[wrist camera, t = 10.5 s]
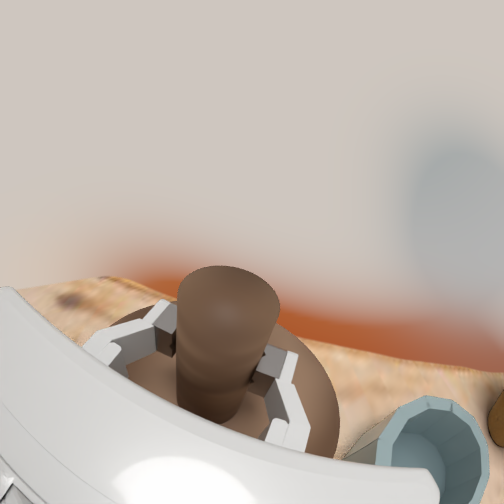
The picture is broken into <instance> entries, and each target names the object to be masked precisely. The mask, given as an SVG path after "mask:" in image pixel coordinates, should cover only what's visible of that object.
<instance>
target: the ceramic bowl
mask: <svg viewBox="0 0 504 504" xmlns="http://www.w3.org/2000/svg"><path fill="white" fill-rule="evenodd" d="M473 418H474V417H473V416H472V415H471V414H469V413H468V412H467V411H466V410H464V409H463V408H462V407H461V406H459V405H458V404H457V403H456V402H454V401H453V400H450V399H444V398H438V397H432V396H427V395H426V396H423V397H421V398H419V399H416V400H414V401H412V402H410V403H407V404H405V405H403V406H400V407H399V408H397V409H396V410H395V411H394V412H392V413H391V414H390V415H389V416H387V417H386V418H385V419H384V420H382V421H381V422H380V423H378V424H377V425H376V426H374V427H373V428H372V429H370V430H369V431H367V432H366V433H365V434H363V435H362V436H361V438H360V439H359V440H358V441H357V443H356V444H355V445H354V446H353V447H352V449H351V450H350V451H349V452H348V453H347V454H346V456H345V457H344V458H343V459H342V460H343V461H349V462H356V463H363V464H371V465H380V466H391V467H408V468H425V469H427V470H428V471H429V472H430V474H431V475H432V477H433V478H434V480H435V482H436V484H437V486H438V488H439V491H440V501H439V504H480V501H481V499H482V496H483V493H484V491H485V488H486V485H487V482H488V479H489V475H490V473H489V454H488V445H486V444H487V442H486V439H485V437H484V435H483V433H482V431H481V429H480V427H479V425H478V424H477V422H476V420H475V418H474V419H473Z"/></svg>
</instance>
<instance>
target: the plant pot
mask: <svg viewBox="0 0 504 504" xmlns="http://www.w3.org/2000/svg"><path fill="white" fill-rule="evenodd" d="M488 427H489V431H490V434H491V437H492V439H493V440H494V442H495V443H496V444H497V445H499V446H501V447H504V390H503V392H502V393H501V395H500V397H499V398H498V400H497V401H496V403H495V405H494V406H493V408H492V409H491V411H490V413H489V417H488Z"/></svg>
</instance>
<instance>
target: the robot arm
mask: <svg viewBox="0 0 504 504" xmlns="http://www.w3.org/2000/svg"><path fill="white" fill-rule="evenodd" d="M176 323H177V305H175V304H173V303H170V302H168V301H166V300H164V299H161V300H159V301H158V302H157V304H156V305H155V306H154V307H153V308H152V309H151V310H150V311H149V312H148V313H147V315H146V316H145V317H144V318H143V319H140V318H139V319H135V320H132V321H129V322H125V323H122V324H119V325H115V326H112V327H108V328H105V329H101V330H98V331H96V332H95V334H94V335H93V336H92V337H91V338H90V339H89V340H88V341H87V342H86V343H85V344H84V345H83V346H82V347H80V346H79V345H78V344H76V343H75V342H74V341H72V340H71V339H70V338H68V337H67V336H66V335H65V334H63V333H62V332H61V331H60V330H58V329H57V328H56V327H55V326H54V325H52V324H51V323H50V322H49V321H48V320H47V319H45V318H44V317H43V316H42V315H41V314H40V313H39V312H38V311H37V310H35V309H34V308H33V307H32V306H31V305H30V304H29V303H28V302H27V301H26V300H25V299H24V298H23V297H22V296H21V295H20V294H19V293H18V292H17V291H16V290H15V289H14V288H12V287H9V286H8V287H0V504H439V501H440V491H439V488H438V486H437V484H436V482H435V480H434V478H433V477H432V475H431V474H430V472H429V471H428V470H427V469H425V468H408V467H391V466H380V465H371V464H363V463H356V462H349V461H343V460H337V459H332V458H327V457H322V456H317V455H313V454H309V453H304V452H305V448H306V445H307V441H308V437H309V433H310V429H311V427H310V424H309V422H308V419H307V416H306V414H305V411H304V409H303V406H302V404H301V401H300V398H299V396H298V393H297V391H296V388H295V385H294V384H291V382H292V379H293V375H294V371H295V368H296V364H297V360H298V354H296V353H293V352H291V351H287V350H285V349H282V348H280V347H277V346H274V345H271V344H268V343H267V345H266V348H265V350H264V352H263V355H262V357H261V359H260V361H259V363H258V365H257V367H256V370H255V372H254V374H253V377H252V379H251V381H250V384H249V386H248V389H247V391H248V392H251V393H253V394H256V395H258V396H261V397H264V402H265V406H266V410H267V414H268V419H269V425H268V426H267V427H266V428H265V430H264V431H263V432H262V433H261V434H260V436H259V437H258V439H256V438H253V437H250V436H247V435H245V434H242V433H239V432H236V431H234V430H231V429H229V428H226V427H223V426H221V425H218V424H216V423H214V422H211V421H209V420H207V419H204V418H202V417H200V416H198V415H195V414H193V413H191V412H189V411H187V410H185V409H183V408H181V407H178V406H176V405H174V404H172V403H170V402H169V401H167V400H165V399H163V398H161V397H159V396H157V395H155V394H153V393H152V392H150V391H148V390H146V389H144V388H143V387H141V386H139V385H138V384H136V383H134V382H132V381H131V380H129V379H128V377H129V376H128V372H127V368H126V365H128V364H130V363H132V362H134V361H137V360H139V359H141V358H143V357H145V356H148V355H150V354H152V353H154V352H156V351H158V352H160V353H162V354H164V355H167V356H169V357H171V358H172V357H173V356H174V355H175V353H176Z"/></svg>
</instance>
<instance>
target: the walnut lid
mask: <svg viewBox="0 0 504 504" xmlns="http://www.w3.org/2000/svg"><path fill="white" fill-rule="evenodd" d="M170 303H173V304H175V305H177V323H176V353H175V355H174V356H173V357H172V358H171V357H169V356H167V355H164V354H162V353H160V352H158V351H156V352H154V353H152V354H150V355H148V356H145V357H143V358H141V359H139V360H137V361H134V362H132V363H130V364H128V365H126V368H127V372H128V376H129V377H128V379H129V380H131V381H132V382H134V383H136V384H138V385H139V386H141V387H143V388H144V389H146V390H148V391H150V392H152V393H153V394H155V395H157V396H159V397H161V398H163V399H165V400H167V401H169V402H170V403H172V404H174V405H176V406H178V407H181V408H183V409H185V410H187V411H189V412H191V413H193V414H195V415H198V416H200V417H202V418H204V419H207V420H209V421H211V422H214V423H216V424H218V425H221V426H223V427H226V428H229V429H231V430H234V431H236V432H239V433H242V434H245V435H247V436H250V437H253V438H256V439H258V437H259V436H260V434H261V433H262V432H263V431H264V430H265V428H266V427H267V426H268V425H269V419H268V414H267V410H266V406H265V402H264V397H261V396H258V395H256V394H253V393H251V392H248V391H247V389H248V386H249V384H250V381H251V379H252V377H253V374H254V372H255V370H256V367H257V365H258V363H259V361H260V359H261V357H262V355H263V352H264V350H265V348H266V345H267V343H268V344H271V345H274V346H277V347H280V348H282V349H285V350H287V351H291V352H293V353H296V354H298V360H297V364H296V368H295V371H294V375H293V379H292V382H291V384H294V385H295V388H296V391H297V393H298V396H299V398H300V401H301V404H302V406H303V409H304V411H305V414H306V416H307V419H308V422H309V424H310V427H311V429H310V433H309V437H308V441H307V445H306V448H305V452H304V453H309V454H313V455H317V456H322V457H327V458H332V459H333V456H334V454H335V451H336V448H337V443H338V438H339V429H340V416H339V407H338V402H337V398H336V394H335V391H334V388H333V386H332V383H331V381H330V379H329V377H328V375H327V373H326V371H325V370H324V368H323V366H322V365H321V364H320V362H319V361H318V359H317V358H316V357H315V355H314V354H313V353H312V352H311V351H310V350H309V349H308V348H307V346H306V345H304V344H303V343H302V342H301V341H300V340H299V339H298V338H297V337H296V336H294V335H293V334H292V333H290V332H289V331H288V330H286V329H285V328H283V327H282V326H280V325H278V324H277V323H276V321H277V319H278V316H279V312H280V303H279V300H278V297H277V295H276V293H275V291H274V290H273V288H272V287H271V286H270V285H269V284H267V282H266V281H264V280H263V279H262V278H260V277H258V276H257V275H255V274H253V273H251V272H249V271H246V270H243V269H240V268H236V267H230V266H209V267H204V268H201V269H198V270H196V271H194V272H192V273H190V274H189V275H188V276H186V277H185V278H184V280H183V281H182V282H181V284H180V286H179V289H178V296H177V301H173V302H170ZM154 306H155V305H152V306H149V307H146V308H143V309H140V310H138V311H135V312H133V313H131V314H129V315H127V316H125V317H123V318H122V319H120V320H118V321H117V322H115V323H114V324H112V325H111V326H110V327H112V326H115V325H119V324H122V323H125V322H129V321H132V320H135V319H139V318H140V319H143V318H144V317H145V316H146V315H147V313H148V312H149V311H150V310H151V309H152V308H153V307H154Z"/></svg>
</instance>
